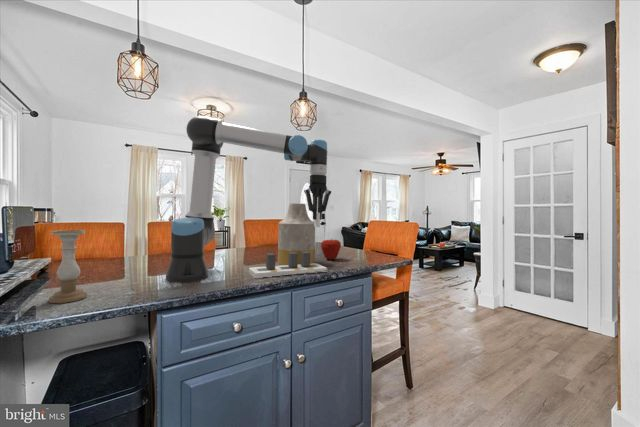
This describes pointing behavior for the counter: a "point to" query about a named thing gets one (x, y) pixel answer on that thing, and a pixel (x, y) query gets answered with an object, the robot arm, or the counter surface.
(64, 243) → the candle holder
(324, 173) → the robot arm
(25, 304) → the counter surface
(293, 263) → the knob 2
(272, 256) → the block
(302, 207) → the vase
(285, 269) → the switch board
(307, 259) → the knob
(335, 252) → the apple
